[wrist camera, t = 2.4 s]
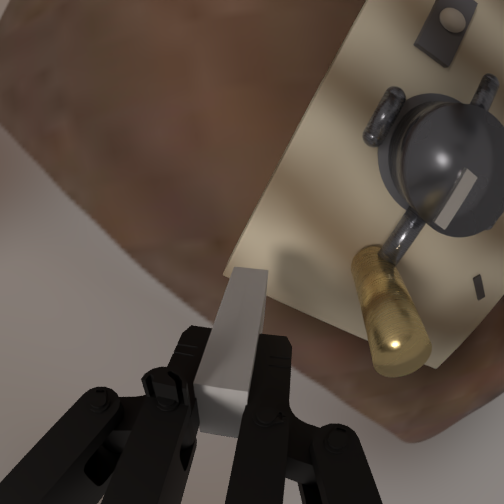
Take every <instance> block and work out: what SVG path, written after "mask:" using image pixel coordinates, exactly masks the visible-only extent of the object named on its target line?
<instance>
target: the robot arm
mask: <svg viewBox="0 0 504 504" xmlns="http://www.w3.org/2000/svg"><path fill="white" fill-rule="evenodd" d="M268 271H269V270H263V269H253V268H244V267H234V268H233V271H232V274H231V277H230V279H229V282H228V285H227V288H226V291H225V294H224V296H223V299H222V302H221V305H220V308H219V311H218V313H217V316H216V319H215V322H214V325H213V328H205V327H198V326H192V325H191V326H190V327H189V328H188V329H187V330H185V331H184V332H183V333H182V335H181V337H180V339H179V341H178V345H177V346H176V348H175V350H174V354H173V355H172V357H171V359H170V362H169V364H168V366H167V367H158V368H154V369H152V370H150V371H148V372H147V373H146V374H145V375H144V376H143V377H142V379H141V380H142V383H143V387H144V390H145V393H146V395H143V396H137V397H118V395H117V393H116V392H114V391H113V390H112V389H110V388H107V387H96V388H92V389H90V390H88V391H87V392H86V393H84V394H83V395H82V396H81V397H80V398H79V399H78V400H77V402H76V403H75V404H74V405H73V406H72V407H71V408H70V409H69V410H68V411H67V412H66V413H65V414H64V415H63V416H62V417H61V418H60V419H59V421H58V422H56V423H55V425H54V426H53V427H52V428H51V429H50V430H49V431H48V432H47V433H46V434H45V435H44V436H43V437H42V438H41V439H40V440H39V441H38V443H37V444H36V445H35V446H34V447H33V448H32V449H31V450H30V451H29V452H28V453H27V454H26V455H25V456H24V458H23V459H22V460H21V461H20V462H19V463H18V464H17V465H16V466H15V467H14V469H12V471H11V472H10V473H9V474H8V475H7V476H6V477H5V478H4V479H3V480H2V481H1V483H0V504H97V503H98V502H99V500H100V499H101V498H102V496H103V495H104V494H105V495H104V497H103V500H102V502H101V504H181V500H182V497H183V493H184V489H185V486H186V482H187V479H188V475H189V471H190V468H191V464H192V461H193V457H194V453H195V450H196V446H197V445H196V444H197V439H196V434H197V431H198V428H200V432H204V433H210V434H215V435H221V436H227V437H234V438H238V441H237V446H236V451H235V456H234V461H233V466H232V471H231V476H230V481H229V486H228V491H227V496H226V501H225V504H283V495H284V485H285V478H288V479H291V480H294V481H296V482H298V486H299V491H300V495H301V499H302V504H382V501H381V498H380V495H379V492H378V489H377V487H376V484H375V481H374V479H373V476H372V473H371V470H370V467H369V465H368V462H367V459H366V456H365V454H364V451H363V448H362V446H361V443H360V440H359V438H358V436H357V435H356V433H355V431H353V430H352V429H351V428H349V427H348V426H345V425H342V424H328V425H325V426H322V427H321V428H319V427H316V426H313V425H310V424H307V423H305V422H303V421H301V420H299V419H298V418H297V417H295V415H294V414H293V413H292V411H291V409H290V406H289V393H290V376H291V356H292V346H291V344H290V342H289V340H288V338H287V337H286V336H276V335H267V334H262V330H263V324H264V315H265V305H266V294H267V282H268Z"/></svg>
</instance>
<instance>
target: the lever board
mask: <svg viewBox="0 0 504 504" xmlns="http://www.w3.org/2000/svg"><path fill="white" fill-rule="evenodd" d="M487 73H491V74H493V75H495V76H496V77H497V78H498V80H499V84H500V86H499V89H498V92H497V94H496V96H495V98H494V100H493V102H492V105H491V107H490V109H489V111H488V112H490V113H491V114H492V115H494V116H495V117H496V118H497V119H498V120H499V121H500V123H501V124H502V125H503V126H504V0H366V2H365V4H364V5H363V7H362V9H361V11H360V12H359V14H358V16H357V18H356V20H355V21H354V23H353V25H352V27H351V29H350V31H349V32H348V34H347V36H346V38H345V40H344V41H343V43H342V45H341V47H340V49H339V51H338V52H337V54H336V56H335V58H334V60H333V62H332V63H331V65H330V67H329V69H328V71H327V73H326V74H325V76H324V78H323V80H322V82H321V84H320V86H319V87H318V89H317V91H316V93H315V95H314V97H313V99H312V100H311V102H310V104H309V106H308V108H307V110H306V112H305V114H304V115H303V117H302V119H301V121H300V123H299V125H298V127H297V129H296V130H295V132H294V134H293V136H292V138H291V140H290V142H289V144H288V146H287V148H286V149H285V151H284V153H283V155H282V157H281V159H280V161H279V163H278V165H277V167H276V169H275V170H274V172H273V174H272V176H271V178H270V180H269V182H268V184H267V186H266V188H265V190H264V192H263V194H262V196H261V197H260V199H259V201H258V203H257V205H256V207H255V209H254V211H253V213H252V215H251V217H250V219H249V221H248V223H247V225H246V227H245V229H244V231H243V233H242V234H241V236H240V238H239V240H238V242H237V244H236V246H235V248H234V250H233V252H232V254H231V256H230V258H229V260H228V263H227V265H226V268H225V270H224V273H223V275H224V276H226V277H228V278H230V277H231V274H232V271H233V268H234V267H244V268H253V269H263V270H269V271H268V282H267V294H266V296H269V297H271V298H273V299H275V300H277V301H279V302H282V303H284V304H286V305H288V306H290V307H293V308H295V309H297V310H299V311H301V312H304V313H306V314H308V315H310V316H313V317H315V318H317V319H319V320H322V321H324V322H326V323H328V324H331V325H333V326H335V327H337V328H340V329H342V330H344V331H347V332H349V333H351V334H353V335H356V336H358V337H360V338H363V339H365V340H367V341H368V337H367V333H366V329H365V324H364V320H363V316H362V312H361V307H360V303H359V299H358V295H357V291H356V288H355V284H354V280H353V276H352V272H351V263H352V260H353V258H354V256H355V255H356V254H357V253H358V252H359V251H361V250H362V249H364V248H367V247H371V246H377V247H382V246H383V245H384V243H385V242H386V240H387V239H388V237H389V236H390V234H391V233H392V231H393V230H394V228H395V227H396V225H397V224H398V222H399V221H400V219H401V218H402V216H403V215H404V213H405V212H406V210H407V209H408V207H409V204H408V203H407V202H406V201H405V200H404V199H403V198H402V196H401V195H400V194H399V192H398V191H397V189H396V187H395V186H394V183H393V181H392V178H391V175H390V171H389V165H388V150H389V144H390V140H391V137H392V133H393V131H394V129H395V127H396V125H397V124H398V122H399V121H400V119H401V118H402V117H403V116H404V115H405V114H406V113H407V112H408V111H409V110H411V109H412V108H414V107H415V106H418V105H420V104H422V103H426V102H431V101H442V102H453V103H463V104H470V102H471V100H472V98H473V96H474V94H475V92H476V90H477V88H478V86H479V84H480V81H481V79H482V77H483V76H484V75H485V74H487ZM391 86H397V87H400V88H401V89H402V90H403V91H404V92H405V95H406V101H405V103H404V105H403V107H402V109H401V111H400V113H399V114H398V116H397V118H396V120H395V122H394V123H393V125H392V127H391V129H390V130H389V132H388V134H387V136H386V138H385V139H384V141H383V143H382V144H381V145H380V146H378V147H369V146H368V145H366V144H365V143H364V141H363V138H362V134H363V131H364V129H365V127H366V125H367V124H368V122H369V120H370V118H371V117H372V115H373V113H374V111H375V109H376V107H377V106H378V104H379V102H380V100H381V98H382V97H383V95H384V93H385V91H386V90H387V88H389V87H391ZM396 268H397V270H398V272H399V274H400V276H401V278H402V280H403V282H404V284H405V286H406V288H407V290H408V292H409V294H410V296H411V298H412V301H413V303H414V305H415V307H416V309H417V311H418V314H419V316H420V318H421V320H422V323H423V325H424V327H425V330H426V332H427V334H428V337H429V339H430V341H431V344H432V352H431V355H430V357H429V359H428V360H427V361H426V363H425V365H427V366H430V367H432V368H435V369H437V368H438V367H439V366H440V365H441V364H442V363H443V362H444V361H445V360H446V359H447V358H448V357H449V356H450V355H451V354H452V353H453V352H454V351H455V350H456V349H457V348H458V347H459V346H460V345H461V344H462V342H463V341H464V340H465V339H466V338H467V337H468V336H469V335H470V334H471V333H472V332H473V331H474V329H475V328H476V327H477V326H478V325H479V324H480V323H481V321H482V320H483V319H484V318H485V317H486V316H487V314H488V313H489V312H490V311H491V310H492V308H493V307H494V306H495V305H496V303H497V302H498V301H499V300H500V298H501V297H502V296H503V295H504V212H503V214H502V215H501V216H500V217H499V218H498V220H497V221H496V223H495V225H494V226H493V228H492V229H490V230H487V231H486V230H484V231H482V232H480V233H478V234H476V235H473V236H468V237H460V238H459V237H451V236H446V235H444V234H441V233H439V232H437V231H436V230H434V229H433V228H431V227H430V226H429V225H428V224H427V223H426V224H425V226H424V227H423V229H422V230H421V232H420V233H419V235H418V236H417V238H416V239H415V240H414V242H413V243H412V245H411V246H410V248H409V249H408V250H407V252H406V253H405V255H404V256H403V257H402V259H401V260H400V262H399V263H398V264H397V266H396Z"/></svg>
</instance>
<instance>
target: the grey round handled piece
mask: <svg viewBox="0 0 504 504" xmlns="http://www.w3.org/2000/svg"><path fill="white" fill-rule="evenodd" d="M499 86H500V84H499V80H498V78H497V77H496V76H495V75H493V74H491V73H487V74H485V75H484V76H483V77H482V79H481V81H480V84H479V86H478V88H477V90H476V92H475V94H474V96H473V98H472V100H471V102H470V104H463V103H453V102H442V101H431V102H426V103H422V104H420V105H418V106H415V107H414V108H412V109H411V110H409V111H408V112H407V113H406V114H405V115H404V116H403V117H402V118H401V119H400V121H399V122H398V124H397V125H396V127H395V129H394V131H393V133H392V137H391V140H390V144H389V150H388V165H389V171H390V175H391V178H392V181H393V183H394V186H395V187H396V189H397V191H398V192H399V194H400V195H401V196H402V198H403V199H404V200H405V201H406V202H407V203H408V204H409V207H408V209H407V210H406V212H405V213H404V215H403V216H402V218H401V219H400V221H399V222H398V224H397V225H396V227H395V228H394V230H393V231H392V233H391V234H390V236H389V237H388V239H387V240H386V242H385V243H384V245H383V246H382V247H377V246H371V247H367V248H364V249H362V250H361V251H359V252H358V253H357V254H356V255H355V256H354V258H353V260H352V263H351V272H352V276H353V280H354V284H355V288H356V291H357V295H358V299H359V303H360V307H361V312H362V316H363V320H364V324H365V329H366V333H367V337H368V342H369V347H370V351H371V356H372V361H373V366H374V368H375V370H376V371H377V372H378V373H379V374H381V375H383V376H386V377H401V376H405V375H408V374H410V373H412V372H414V371H416V370H418V369H419V368H420V367H422V366H423V365H424V364H425V363H426V361H427V360H428V359H429V357H430V355H431V352H432V344H431V341H430V339H429V337H428V334H427V332H426V330H425V327H424V325H423V323H422V320H421V318H420V316H419V314H418V311H417V309H416V307H415V305H414V303H413V301H412V298H411V296H410V294H409V292H408V290H407V288H406V286H405V284H404V282H403V280H402V278H401V276H400V274H399V272H398V270H397V268H396V266H397V264H398V263H399V262H400V260H401V259H402V257H403V256H404V255H405V253H406V252H407V250H408V249H409V248H410V246H411V245H412V243H413V242H414V240H415V239H416V238H417V236H418V235H419V233H420V232H421V230H422V229H423V227H424V226H425V224H426V223H427V224H428V225H429V226H430V227H431V228H433V229H434V230H436V231H437V232H439V233H441V234H444V235H446V236H451V237H459V238H460V237H468V236H473V235H476V234H478V233H480V232H482V231H484V230H486V231H487V230H490V229H492V228H493V226H494V225H495V223H496V221H497V220H498V218H499V217H500V216H501V215H502V214H503V212H504V126H503V125H502V124H501V123H500V121H499V120H498V119H497V118H496V117H495V116H494V115H492V114H491V113H490V112H488V111H489V109H490V107H491V105H492V102H493V100H494V98H495V96H496V94H497V92H498V89H499ZM405 101H406V95H405V92H404V91H403V90H402V89H401V88H400V87H397V86H391V87H389V88H387V90H386V91H385V93H384V95H383V97H382V98H381V100H380V102H379V104H378V106H377V107H376V109H375V111H374V113H373V115H372V117H371V118H370V120H369V122H368V124H367V125H366V127H365V129H364V131H363V134H362V138H363V141H364V143H365V144H366V145H368V146H369V147H378V146H380V145H381V144H382V143H383V141H384V139H385V138H386V136H387V134H388V132H389V130H390V129H391V127H392V125H393V123H394V122H395V120H396V118H397V116H398V114H399V113H400V111H401V109H402V107H403V105H404V103H405Z"/></svg>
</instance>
